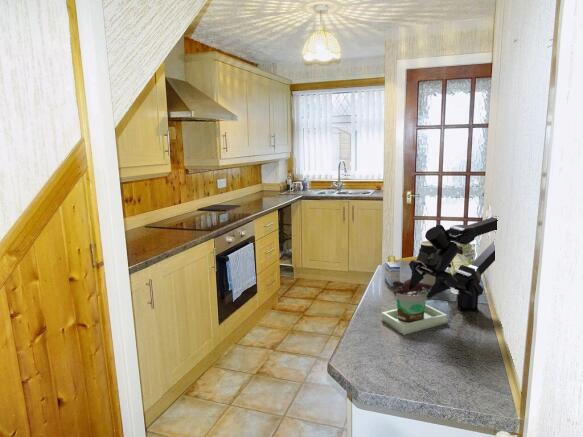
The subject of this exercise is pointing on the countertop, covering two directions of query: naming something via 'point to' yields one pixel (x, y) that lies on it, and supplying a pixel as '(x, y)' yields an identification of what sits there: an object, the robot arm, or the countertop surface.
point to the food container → (411, 305)
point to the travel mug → (427, 249)
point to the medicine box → (392, 273)
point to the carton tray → (430, 320)
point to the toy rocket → (405, 286)
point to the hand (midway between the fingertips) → (418, 293)
